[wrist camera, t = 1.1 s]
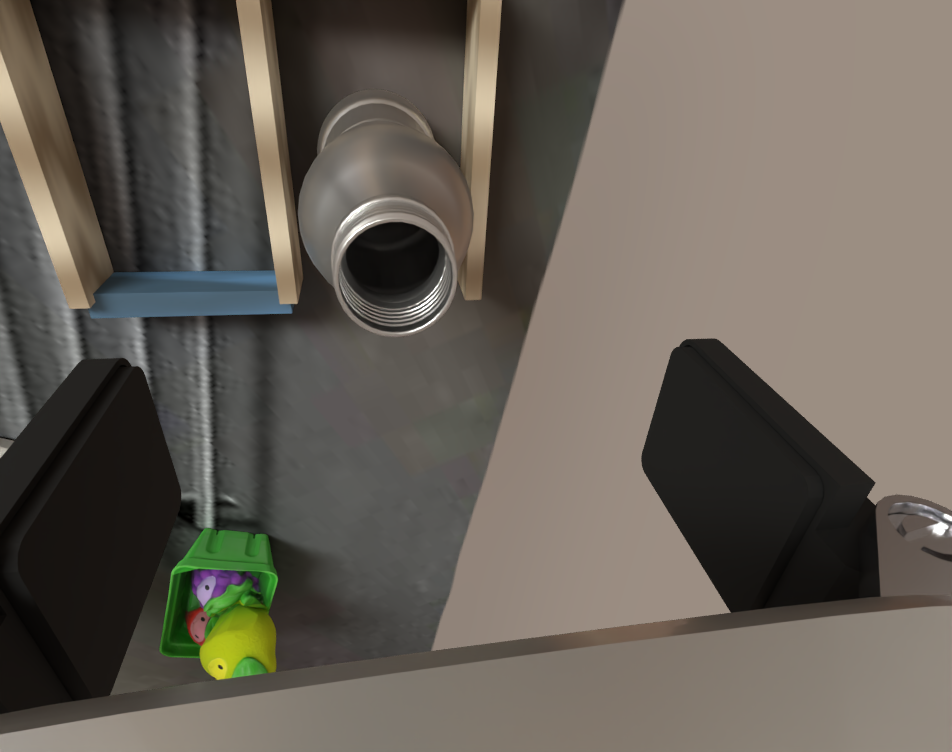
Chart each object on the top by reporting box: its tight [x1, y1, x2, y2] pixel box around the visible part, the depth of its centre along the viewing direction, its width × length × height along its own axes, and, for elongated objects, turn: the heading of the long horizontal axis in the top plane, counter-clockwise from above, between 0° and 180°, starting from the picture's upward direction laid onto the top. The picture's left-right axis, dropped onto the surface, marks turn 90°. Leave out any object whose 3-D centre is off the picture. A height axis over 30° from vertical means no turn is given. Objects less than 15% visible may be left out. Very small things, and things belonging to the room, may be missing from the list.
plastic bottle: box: [298, 89, 474, 337], centre depth 24 cm, size 6×7×20 cm
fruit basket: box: [159, 528, 278, 680], centre depth 44 cm, size 11×9×11 cm
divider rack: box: [0, 0, 502, 318], centre depth 30 cm, size 18×23×4 cm
